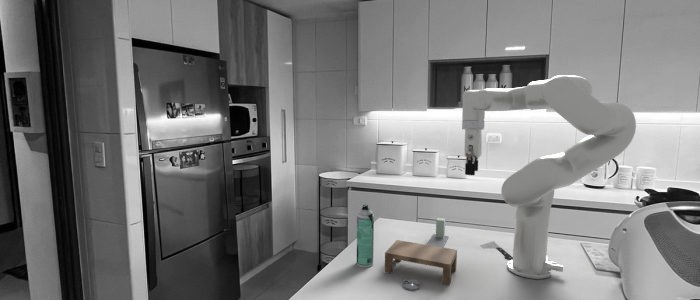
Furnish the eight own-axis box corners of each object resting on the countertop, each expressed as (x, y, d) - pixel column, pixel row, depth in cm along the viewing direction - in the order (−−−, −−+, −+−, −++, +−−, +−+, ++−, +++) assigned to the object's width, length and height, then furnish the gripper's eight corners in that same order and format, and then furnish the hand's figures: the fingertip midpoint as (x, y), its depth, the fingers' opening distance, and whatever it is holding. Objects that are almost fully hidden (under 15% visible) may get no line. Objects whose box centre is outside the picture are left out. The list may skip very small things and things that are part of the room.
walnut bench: (456, 269, 120) (457, 249, 119) (449, 285, 109) (450, 264, 108) (396, 258, 128) (396, 239, 128) (384, 272, 118) (384, 252, 117)
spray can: (375, 262, 125) (376, 204, 122) (369, 268, 120) (370, 208, 118) (360, 259, 127) (361, 202, 125) (353, 265, 122) (354, 206, 120)
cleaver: (488, 261, 127) (517, 261, 127) (488, 259, 127) (517, 259, 127) (461, 232, 156) (485, 232, 156) (461, 231, 156) (485, 230, 156)
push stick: (448, 238, 148) (449, 219, 147) (435, 262, 126) (436, 240, 125) (433, 235, 151) (434, 217, 150) (418, 259, 128) (419, 237, 127)
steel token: (422, 285, 110) (422, 281, 110) (416, 293, 106) (416, 289, 105) (405, 281, 112) (406, 277, 112) (400, 288, 108) (400, 284, 108)
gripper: (481, 126, 124) (480, 177, 126) (486, 124, 139) (484, 169, 141) (458, 126, 127) (457, 176, 129) (465, 124, 142) (464, 168, 144)
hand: (471, 172), depth 135 cm, fingers open, 9 cm apart
